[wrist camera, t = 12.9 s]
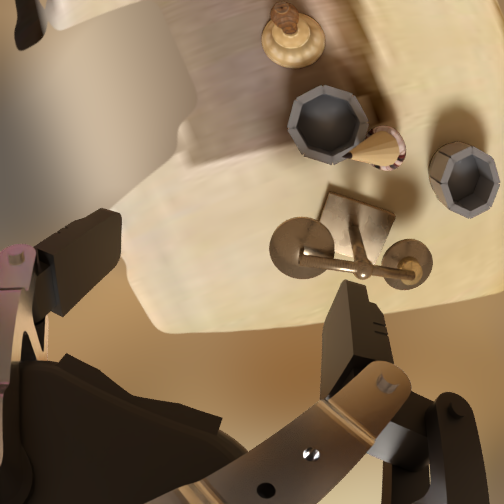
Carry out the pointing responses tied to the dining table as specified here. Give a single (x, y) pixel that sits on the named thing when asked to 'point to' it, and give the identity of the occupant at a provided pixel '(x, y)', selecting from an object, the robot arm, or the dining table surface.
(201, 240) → the dining table surface
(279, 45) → the hand bell
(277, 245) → the balance
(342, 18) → the dining table surface
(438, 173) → the cup
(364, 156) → the ice cream cone
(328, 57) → the dining table surface
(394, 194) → the dining table surface
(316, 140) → the cup
